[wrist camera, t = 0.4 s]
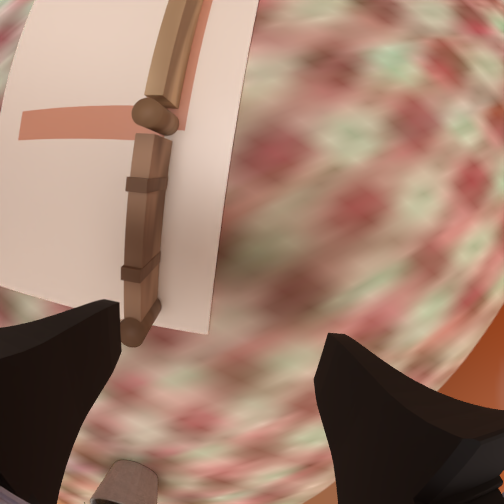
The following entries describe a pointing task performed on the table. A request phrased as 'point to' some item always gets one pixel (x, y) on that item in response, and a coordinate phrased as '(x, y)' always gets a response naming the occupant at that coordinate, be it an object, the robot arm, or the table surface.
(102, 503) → the house plant
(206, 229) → the card
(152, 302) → the fence panel
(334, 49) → the table surface
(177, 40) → the fence fixed
